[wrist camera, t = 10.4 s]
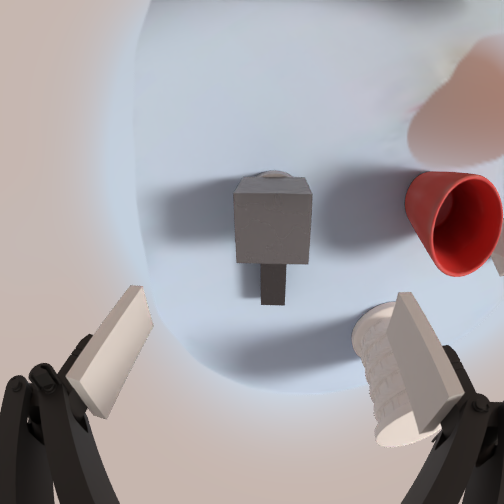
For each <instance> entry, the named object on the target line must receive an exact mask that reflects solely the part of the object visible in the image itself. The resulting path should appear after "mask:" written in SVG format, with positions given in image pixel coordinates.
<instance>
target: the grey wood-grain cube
mask: <svg viewBox="0 0 504 504" xmlns="http://www.w3.org/2000/svg"><path fill="white" fill-rule="evenodd" d="M233 198H234V220H235V241H236V260H237V263H262V264H308V261H309V247H310V232H311V215H312V192H311V190H310V188H309V185H308V183H307V181H306V179H305V177H243V178H242V180H241V182H240V183H239V185H238V186H237V188H236V190H235V191H234V193H233Z"/></svg>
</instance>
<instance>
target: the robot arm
mask: <svg viewBox="0 0 504 504" xmlns="http://www.w3.org/2000/svg"><path fill="white" fill-rule="evenodd" d="M153 326H154V325H153V322H152V318H151V315H150V312H149V308H148V305H147V300H146V297H145V293H144V289H143V286H133V285H130V287H129V288H128V289H127V290H126V292H125V293H124V295H123V296H122V297H121V298H120V300H119V301H118V302H117V304H116V305H115V306H114V308H113V309H112V310H111V312H110V313H109V314H108V316H107V317H106V318H105V320H104V321H103V322H102V324H101V325H100V327H99V328H98V330H97V331H96V332H95V334H94V335H91V334H88V335H87V336H86V337H84V338H83V339H82V340H81V341H80V342H79V344H78V345H77V346H76V349H74V351H73V352H72V353H71V354H72V355H70V356H69V358H68V359H67V361H66V362H65V364H64V365H63V367H62V368H61V370H60V371H59V372H58V374H56V372H55V370H54V369H53V367H52V366H51V365H50V364H47V363H41V364H38V365H37V366H35V367H34V368H33V369H32V370H31V371H30V373H29V380H30V381H31V382H32V383H28V381H27V380H26V378H25V377H23V376H21V375H18V376H14V377H13V378H11V379H10V380H9V382H8V383H7V386H6V390H5V394H4V398H3V402H2V407H1V412H0V504H55V503H54V492H53V482H54V486H55V489H56V493H57V496H58V499H59V502H60V504H120V503H119V501H118V499H117V497H116V494H115V492H114V490H113V488H112V485H111V483H110V481H109V478H108V476H107V473H106V471H105V468H104V466H103V463H102V460H101V458H100V455H99V452H98V450H97V446H96V443H95V441H94V437H93V434H92V431H91V427H90V424H89V421H88V417H87V415H86V414H85V412H86V410H87V408H88V409H89V410H90V411H91V413H92V414H93V415H95V416H97V417H100V418H103V419H107V418H108V416H109V414H110V412H111V410H112V407H113V405H114V403H115V401H116V399H117V397H118V395H119V393H120V391H121V389H122V387H123V385H124V383H125V381H126V379H127V377H128V374H129V373H130V371H131V369H132V366H133V365H134V363H135V361H136V359H137V357H138V355H139V353H140V351H141V349H142V347H143V346H144V343H145V342H146V340H147V338H148V336H149V334H150V332H151V330H152V329H153ZM386 335H387V337H388V340H389V343H390V345H391V348H392V351H393V353H394V356H395V359H396V362H397V364H398V367H399V370H400V373H401V376H402V379H403V382H404V385H405V388H406V391H407V394H408V397H409V400H410V404H411V407H412V410H413V414H414V417H415V421H416V424H417V428H418V431H419V434H422V433H427V432H430V431H434V430H435V429H436V428H437V427H438V425H439V424H441V427H442V430H441V431H440V432H439V433H438V434H437V435H436V436H435V437H434V439H433V440H432V442H434V441H435V440H436V441H435V443H434V446H433V448H432V450H431V452H430V454H429V456H428V458H427V460H426V462H425V463H424V465H423V467H422V469H421V471H420V473H419V474H418V476H417V478H416V480H415V481H414V483H413V485H412V486H411V488H410V490H409V491H408V493H407V494H406V496H405V498H404V499H403V501H402V502H401V504H458V503H459V501H460V499H461V497H462V495H463V492H464V490H465V493H464V498H463V502H462V504H504V401H503V402H490V401H489V400H488V398H487V397H486V396H484V395H482V394H479V393H476V392H475V389H474V387H473V385H472V383H471V381H470V379H469V377H468V375H467V373H466V371H465V369H464V368H463V365H462V363H461V362H460V359H459V357H458V355H457V354H456V352H455V351H454V350H453V349H452V348H451V347H450V346H449V345H445V346H442V345H441V343H440V341H439V339H438V338H437V336H436V334H435V332H434V330H433V328H432V327H431V325H430V323H429V321H428V320H427V318H426V316H425V314H424V313H423V311H422V309H421V308H420V306H419V304H418V303H417V301H416V299H415V298H414V296H413V294H412V293H411V292H399V293H398V296H397V300H396V303H395V306H394V310H393V313H392V316H391V319H390V322H389V325H388V328H387V331H386ZM27 418H29V420H28V423H27ZM465 488H466V489H465Z"/></svg>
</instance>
